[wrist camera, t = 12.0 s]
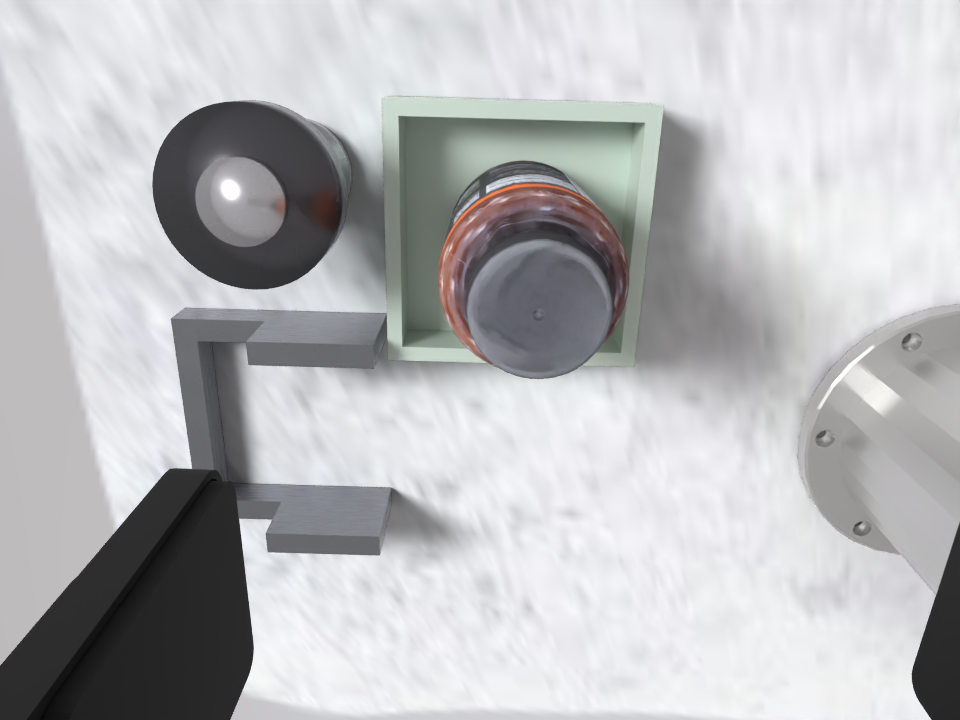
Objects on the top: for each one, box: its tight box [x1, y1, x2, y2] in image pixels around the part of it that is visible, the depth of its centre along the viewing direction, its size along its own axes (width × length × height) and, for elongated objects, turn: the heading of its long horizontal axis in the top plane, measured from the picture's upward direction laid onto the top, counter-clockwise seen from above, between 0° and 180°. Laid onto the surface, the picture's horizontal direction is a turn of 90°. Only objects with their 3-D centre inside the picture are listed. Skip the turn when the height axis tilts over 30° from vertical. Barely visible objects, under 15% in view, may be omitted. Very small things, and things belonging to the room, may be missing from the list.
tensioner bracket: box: [171, 308, 391, 555], centre depth 32 cm, size 9×10×4 cm
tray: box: [382, 96, 664, 367], centre depth 29 cm, size 10×10×3 cm
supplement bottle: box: [438, 160, 630, 379], centre depth 24 cm, size 6×6×11 cm
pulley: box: [153, 100, 352, 289], centre depth 26 cm, size 6×6×8 cm
